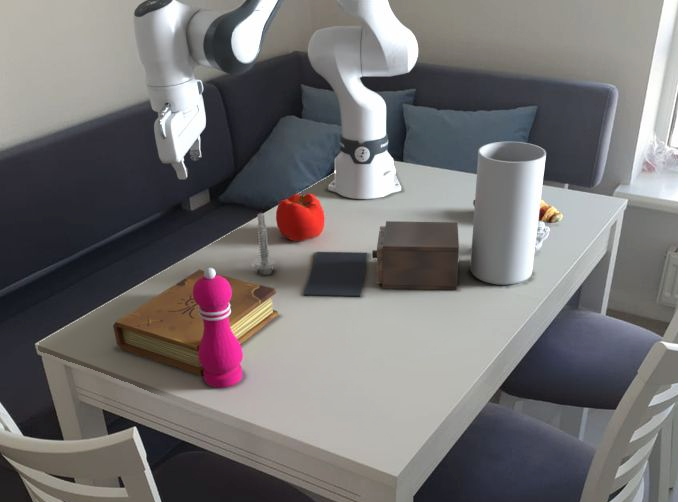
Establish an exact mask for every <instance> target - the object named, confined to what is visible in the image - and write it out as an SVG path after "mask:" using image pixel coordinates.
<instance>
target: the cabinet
mask: <svg viewBox="0 0 678 502" xmlns="http://www.w3.org/2000/svg"><path fill="white" fill-rule="evenodd" d="M458 223H459V222H457V221H455V222H454V221H398V220H397V221H396V220H394V221H391V220H386V221H385V234H384V241H383V283H382V289H383V290H384V289H388V290H391V289H392V290H427V291H428V290H429V291H430V290H431V291H432V290H433V291H434V290H435V291H437V290H438V291H444V290H445V291H457V288H458V271H459V255H460V241H459V224H458Z"/></svg>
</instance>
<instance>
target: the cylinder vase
mask: <svg viewBox="0 0 678 502" xmlns="http://www.w3.org/2000/svg"><path fill="white" fill-rule="evenodd" d="M546 158H547V151H546V150H545V148H543V147H541V146H539V145H536V144H533V143H529V142H522V141H498V142H490V143H487V144H486V143H485V144H484V145H482V146H480V147H479V148H478V152H477V167H476V178H475V180H476V181H475V193H474V200H475V207H474V208H473V209H474V211H473V224H472V237H471V238H472V239H471V251H470V266H469V267H470V272H471V273H472V275H473V276H474V277H475V278H476V279H478V280H479V281H481V282H484V283H487V284H492V285H500V286H509V285H510V286H511V285H516V284H520V283H523V282H525V281H527V280H528V279H529V278H531V276H532V274H533V269H534V260H535V259H534V258H535V253H536V252H535V244H536V235H537V227H538V218H539V210H540V201H541V199H542V192H543V182H544V174H545V166H546Z"/></svg>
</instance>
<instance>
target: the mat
mask: <svg viewBox="0 0 678 502" xmlns="http://www.w3.org/2000/svg"><path fill="white" fill-rule="evenodd" d="M367 258H368V252H346V251H345V252H344V251H343V252H342V251H317V252H316V254H315V257H314V260H313V264H312V267H311V271H310V274H309V276H308V282H307V285H306V288H305V291H304V296H306V297H309V296H310V297H311V296H312V297H353V298H360V297H361V295H362V288H363V283H364V278H365V277H364V276H365V271H366V265H367Z"/></svg>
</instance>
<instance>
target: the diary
mask: <svg viewBox="0 0 678 502" xmlns="http://www.w3.org/2000/svg"><path fill="white" fill-rule="evenodd" d="M204 271H205V270H203V269H198V270H196V271H195V272H193V273H191V274H190V275H188V276H186V277H185V278H184V279H182V280H180V281H178V282H176V283H175V284H174V285H172V286H170V287H169V288H167V289H166V290H163V292H161V293H159V294H158V295H156V296H154V297H153V298H151V299H150V300H148V301H147V302H145V303H144V304H142V305H139V307H137V308H135V309H134V310H132V311H130V312H129V313H127V314H126V315H124V316H122V317H121V318H119V319H117V320H116V321H115V322H114V324H113V325H112V327H113V332H114V336H115V340H116V344H117V346H118V347H119V349H121V350H122V351H125V352H129V353H132V354H133V355H134V354H135V355H138V356H141V357H144V358H146V359H150V360H152V361H155V362H156V361H157V362H159V363H162V364H165V365H168V366H171V367H175V368H177V369H181V370H183V371H187V372H189V373H193V374H196V375H198V376H199V375H200V376H203V375H204V367H202V365H201V364H200V363H199V359H198V351H199V345H200V342H201V339H202V336H203V332H204V322H203V319H202V318H201V317H200V316H199V310H198V307H199V305H198V304H197V303H196V302H195V300H194V297H193V287H194V285H195V283H196V281H197V280H198V279H200V278H202V277H204ZM216 275H219V276H221V277H223V278H225V279H226V280H227V281H228V282H229V284H230V286H231V290H232V297H231V299H230V301H229V303H230V309H231V313H230V315H229V324H230V328H231V331H232V332H233V334H234V335H235V337H236V338H237V340H238V341H239V343H240V345H242V344H243V343H245V341H247V340H249V338H251V337H252V336H253V335H255V334H256V333H257V332H259V331H260V330H261V329H262V328H264V327H265V326H266V325H268V323H270V322H271V321H273V320H274V319H276V317H278V316H279V314H278V313H279V311H278V310H276V309H273V299H272V297H273V296H274V295H276V294H277V289H276V288H274V287H269V286H265V285H261V284H258V283H254V282H251V281H247V280H242V279H239V278H234V277H231V276H227V275H223V274H219V273H216Z"/></svg>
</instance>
